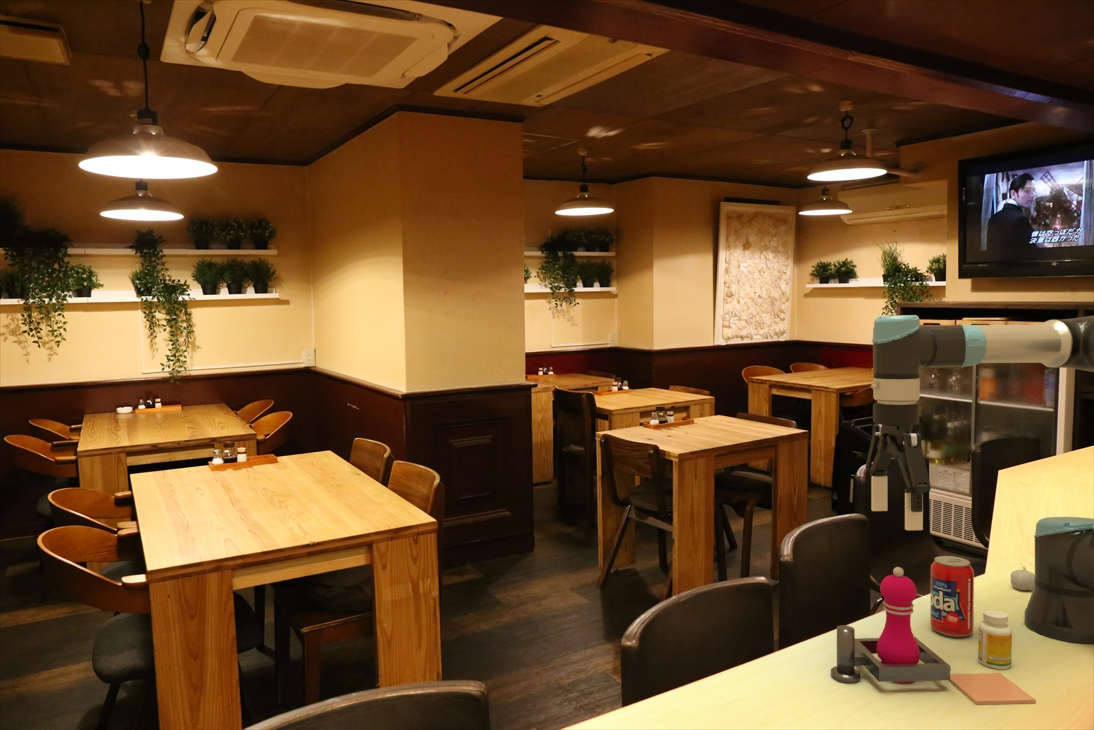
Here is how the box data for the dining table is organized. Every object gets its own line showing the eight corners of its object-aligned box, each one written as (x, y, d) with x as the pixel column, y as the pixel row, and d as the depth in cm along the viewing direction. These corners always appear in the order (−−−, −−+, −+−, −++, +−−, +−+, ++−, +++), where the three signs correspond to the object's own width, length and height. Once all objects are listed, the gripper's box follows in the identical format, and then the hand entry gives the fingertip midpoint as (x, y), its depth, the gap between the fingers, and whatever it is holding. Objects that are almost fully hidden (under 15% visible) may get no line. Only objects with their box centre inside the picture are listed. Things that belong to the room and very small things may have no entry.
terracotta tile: (999, 676, 139) (999, 672, 139) (1035, 703, 129) (1035, 699, 129) (944, 677, 139) (944, 674, 139) (976, 704, 129) (976, 701, 129)
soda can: (982, 637, 157) (983, 564, 156) (949, 641, 155) (950, 567, 154) (953, 622, 164) (953, 553, 163) (921, 627, 162) (922, 556, 161)
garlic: (1017, 583, 188) (1018, 562, 187) (1041, 589, 183) (1042, 568, 183) (1004, 588, 184) (1005, 567, 184) (1028, 595, 180) (1029, 572, 180)
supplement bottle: (971, 660, 146) (971, 610, 146) (992, 655, 148) (993, 606, 147) (996, 672, 141) (997, 620, 140) (1018, 667, 143) (1019, 616, 142)
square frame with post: (915, 660, 146) (915, 613, 146) (950, 691, 134) (950, 640, 134) (819, 662, 146) (819, 615, 146) (845, 694, 134) (845, 642, 133)
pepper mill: (924, 686, 136) (925, 574, 135) (880, 683, 137) (881, 572, 136) (914, 668, 143) (914, 562, 142) (872, 666, 144) (872, 560, 143)
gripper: (847, 395, 150) (847, 504, 152) (907, 410, 126) (907, 539, 127) (886, 395, 151) (886, 503, 152) (953, 409, 126) (953, 538, 127)
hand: (895, 519), depth 139 cm, fingers open, 13 cm apart
